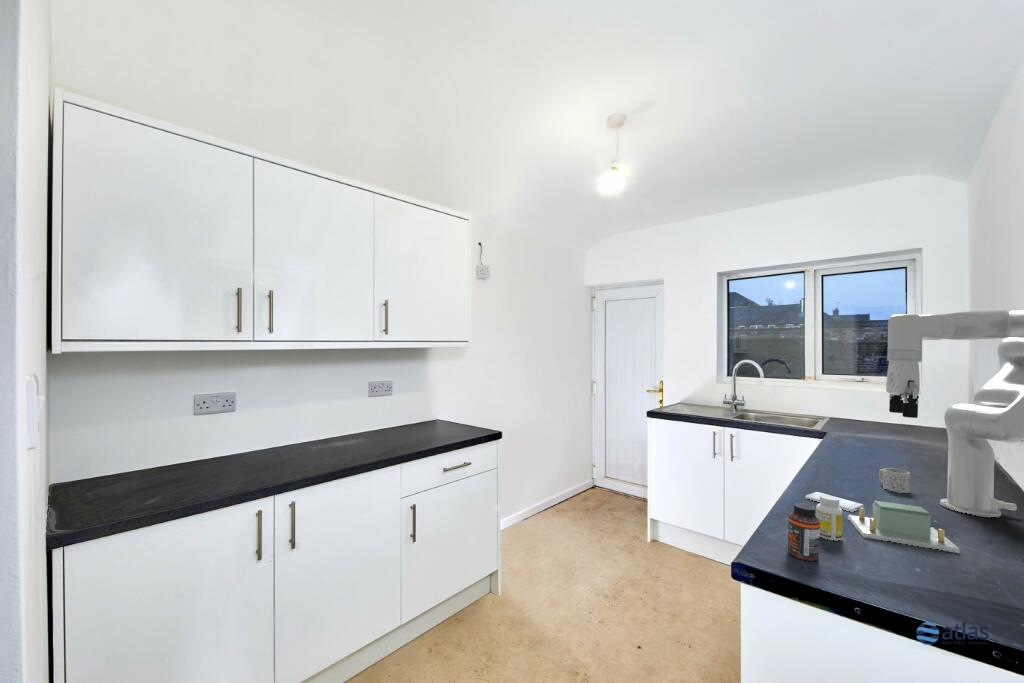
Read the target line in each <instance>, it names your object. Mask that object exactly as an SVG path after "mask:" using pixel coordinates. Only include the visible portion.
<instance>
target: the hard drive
mask: <svg viewBox="0 0 1024 683" xmlns="http://www.w3.org/2000/svg"><path fill="white" fill-rule="evenodd" d="M820 495H829V496H833V495H830V494H827V493H823V492H821V491H820V492H819V491H815V492H812V493H809V494H806V495H805V496H804V499H805V498H806V499H805V500H807V499H810V500H809V501H811V500H813V501H812V502H814V501H817V502H820ZM833 497H836V498H838V499H839V505H838V507H839V508H841V509H843V510H842V511H845V510H846V512H849V511H850V513H854V511H855V512H856V511H859V508H860V507H861V508H865V505H864V504H862V503H859V502H856V501H853V500H848V499H845V498H841V497H837V496H835V495H834V496H833ZM817 502H816V503H817ZM820 503H821V502H820ZM820 503H819V504H820Z"/></svg>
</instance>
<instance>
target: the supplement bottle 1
mask: <svg viewBox="0 0 1024 683" xmlns="http://www.w3.org/2000/svg"><path fill="white" fill-rule="evenodd" d="M787 521H788V527H787V528H788V529H787V551H788V553H789V555H791V556H793V557H794V558H796V559H799V560H802V561H809V562H814V561H817V560H819V557H820V539H821V537H820V520H819V519H818V518H817V517H816V506H815V507H814V506H813V505H811V504H807V503H802V502H796V503H794V504H793V511H791V512H789V514H788V520H787Z"/></svg>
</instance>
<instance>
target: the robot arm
mask: <svg viewBox="0 0 1024 683" xmlns="http://www.w3.org/2000/svg"><path fill="white" fill-rule="evenodd" d="M887 323H888V324H887V325H888V328H887V357H886V358H887V361H888V366H887V372H886V373H887V375H886V384H885V385H886V386H885V391H886V392H887V393H888V394H889V397H888V398H889V413H892V414H893V413H895V414H902V415H901V416H902V417H903V418H912V419H917V418H918V416H919V399H920V396H919V394H920V389H921V385H920V384H921V378H920V364H919V363H922V362H923V360H922V358H923V341H941V340H953V341H954V340H956V341H962V340H963V341H968V340H969V341H971V340H972V341H973V340H987V339H988V340H991V339H992V340H994V339H1001V341H1000V342H999V343H998V346H997V356H998V361H999V370H998V371H997V372H996V373H995V375H994V376H993V377H992V378H990V379H989V380H987V382H985V384H983V385H982V386H981V387H980V388H979V389H978V390H977V391H976V392H975V394H974V396H973V403H974V404H973V403H956V404H952V405H951V406H949V407H948V408H947V409H946V410H945V412H944V425H945V429H946V432H947V433H946V434H947V442H948V444H947V445H948V448H947V449H948V450H947V452H948V453H947V455H948V456H947V485H946V486H947V490H946V494H947V495H946V496H947V497H946V498H941V499H940V500H939V504H940V506H942V507H944V508H946V509H948V508H949V509H948V510H951V511H954V510H955V511H954V512H957V511H958V513H961V512H962V514H965V513H967V514H966V515H969V514H972V515H971V516H975V515H976V517H983V518H991V517H996V518H1001V516H1002V512H1001V510H1003V509H1004V510H1007V511H1008V510H1010V511H1014V512H1015V511H1017V509H1018V506H1017V504H1016V503H1013V502H1012V503H1011V502H1005V501H1004V500H998V499H996V498H995V497H994V488H995V487H994V484H995V483H994V482H995V480H994V479H995V452H994V449H993V448H992V445H991V444H990V442H989V441H988V440H990V441H996V442H1002V443H1009V444H1013V443H1014V444H1015V443H1019V442H1021V441H1023V440H1024V308H1020V309H1004V310H1002V309H998V310H997V309H995V310H973V311H972V310H969V311H959V312H958V311H957V312H950V313H941V314H940V313H936V314H933V313H932V314H914V313H909V314H908V313H907V314H906V313H904V314H902V313H901V314H893V315H891V316H889V318H888V322H887Z"/></svg>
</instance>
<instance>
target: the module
mask: <svg viewBox="0 0 1024 683" xmlns="http://www.w3.org/2000/svg"><path fill="white" fill-rule="evenodd" d="M871 518H873V519H876V527H877V528H878V529H879V530H883V531H889V532H895V533H902V534H908V535H914V536H921V537H927V538H930V531H931V527H932V525H931V522H932V516H931V515H930V512H929V511H928V510H926V509H924V508H923V507H922V506H916V505H910V504H903V503H896V502H895V503H894V502H888V501H882V500H881V501H880V500H873V503H872V517H871Z"/></svg>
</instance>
